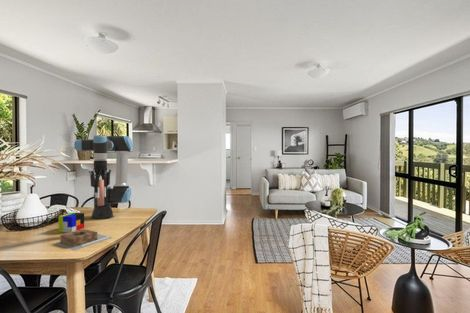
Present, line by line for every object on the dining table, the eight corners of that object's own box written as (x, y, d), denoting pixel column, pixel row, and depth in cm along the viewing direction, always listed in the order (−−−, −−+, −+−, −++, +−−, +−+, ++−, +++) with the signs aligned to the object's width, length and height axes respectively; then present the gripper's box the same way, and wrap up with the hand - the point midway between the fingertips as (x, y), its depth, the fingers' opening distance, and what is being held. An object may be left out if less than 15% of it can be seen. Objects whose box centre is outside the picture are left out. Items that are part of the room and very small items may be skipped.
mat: (91, 233, 158) (91, 232, 158) (112, 238, 149) (112, 237, 149) (52, 244, 139) (52, 243, 139) (74, 251, 129) (74, 250, 129)
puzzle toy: (71, 232, 160) (71, 217, 160) (58, 231, 162) (58, 216, 162) (84, 228, 170) (84, 213, 170) (71, 227, 172) (71, 212, 172)
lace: (107, 237, 149) (107, 236, 149) (108, 237, 149) (108, 236, 149) (80, 246, 135) (80, 245, 135) (81, 246, 135) (81, 245, 135)
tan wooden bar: (101, 204, 162) (101, 179, 161) (105, 204, 160) (105, 179, 160) (95, 205, 158) (95, 180, 158) (99, 206, 156) (99, 180, 156)
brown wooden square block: (83, 236, 151) (83, 228, 151) (97, 239, 145) (97, 232, 145) (60, 243, 140) (60, 235, 140) (74, 247, 134) (74, 239, 134)
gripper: (108, 159, 168) (108, 194, 168) (83, 160, 153) (83, 198, 153) (116, 159, 164) (116, 195, 165) (91, 160, 149) (91, 199, 150)
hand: (100, 197), depth 159 cm, fingers closed on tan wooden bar, 4 cm apart
